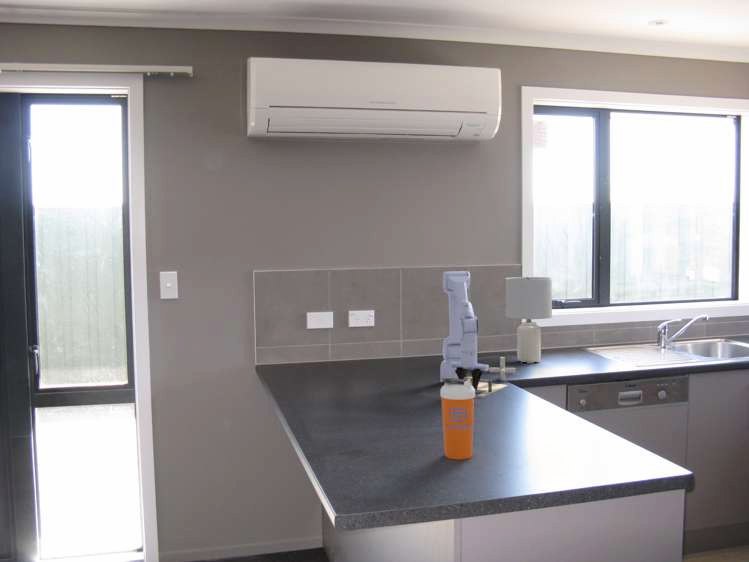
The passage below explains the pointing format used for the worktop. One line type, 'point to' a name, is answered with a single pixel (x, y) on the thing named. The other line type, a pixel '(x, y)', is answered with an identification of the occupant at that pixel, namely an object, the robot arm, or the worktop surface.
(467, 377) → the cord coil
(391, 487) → the worktop surface
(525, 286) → the lamp
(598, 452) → the worktop surface
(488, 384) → the shelf board
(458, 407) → the shaker bottle
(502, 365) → the pipe connector
